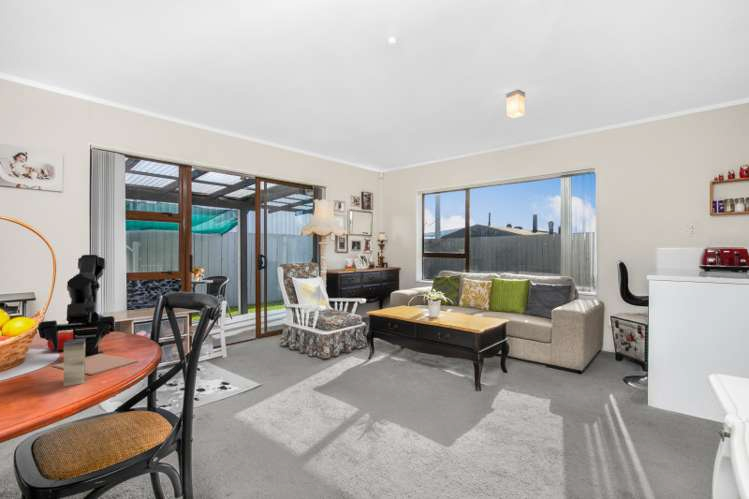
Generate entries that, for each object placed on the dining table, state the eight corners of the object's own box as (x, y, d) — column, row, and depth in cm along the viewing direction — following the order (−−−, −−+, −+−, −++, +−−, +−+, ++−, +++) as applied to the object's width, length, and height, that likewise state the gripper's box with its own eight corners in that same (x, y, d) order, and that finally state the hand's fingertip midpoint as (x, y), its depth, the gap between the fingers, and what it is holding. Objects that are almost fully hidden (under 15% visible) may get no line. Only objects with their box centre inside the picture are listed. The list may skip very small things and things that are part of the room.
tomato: (54, 347, 147) (54, 331, 147) (87, 344, 150) (87, 329, 150) (42, 353, 137) (42, 336, 137) (77, 351, 141) (77, 334, 141)
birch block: (66, 381, 110) (66, 340, 110) (85, 378, 112) (85, 338, 112) (63, 386, 106) (63, 343, 106) (83, 383, 109) (83, 341, 108)
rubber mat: (52, 366, 123) (52, 365, 123) (100, 354, 137) (100, 353, 137) (91, 375, 115) (91, 374, 115) (138, 361, 129) (138, 360, 129)
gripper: (39, 295, 110) (29, 339, 101) (114, 291, 120) (112, 331, 111) (45, 317, 117) (36, 360, 108) (115, 311, 127) (113, 350, 118)
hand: (75, 349), depth 111 cm, fingers open, 9 cm apart
